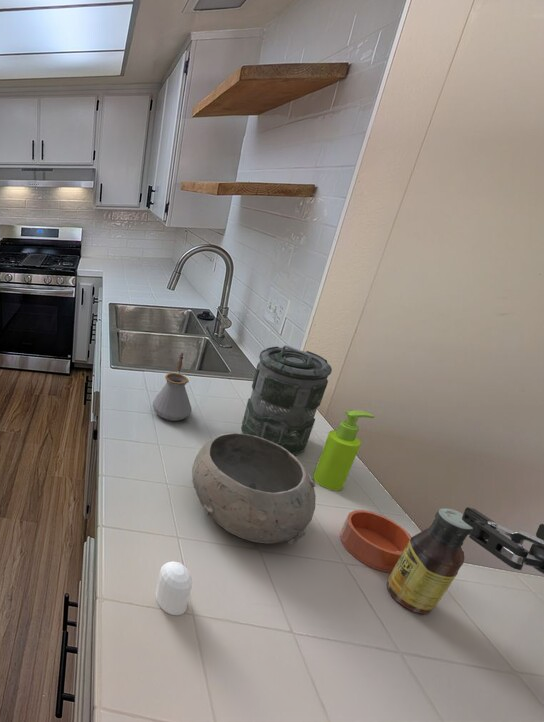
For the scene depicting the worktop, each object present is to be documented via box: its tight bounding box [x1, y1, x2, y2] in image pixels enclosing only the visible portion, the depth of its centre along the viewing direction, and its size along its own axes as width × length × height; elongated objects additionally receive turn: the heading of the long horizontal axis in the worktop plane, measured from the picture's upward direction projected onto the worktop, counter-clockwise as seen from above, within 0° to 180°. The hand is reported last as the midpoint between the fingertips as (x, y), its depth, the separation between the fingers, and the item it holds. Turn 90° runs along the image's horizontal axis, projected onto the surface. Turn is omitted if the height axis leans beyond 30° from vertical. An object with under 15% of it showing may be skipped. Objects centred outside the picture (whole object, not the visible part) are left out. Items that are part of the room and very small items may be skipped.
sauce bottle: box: [386, 507, 473, 615], centre depth 64 cm, size 7×6×20 cm
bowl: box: [191, 432, 316, 544], centre depth 82 cm, size 23×23×15 cm
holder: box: [339, 509, 412, 574], centre depth 76 cm, size 10×10×5 cm
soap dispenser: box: [312, 409, 375, 492], centre depth 90 cm, size 6×7×20 cm
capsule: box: [154, 560, 193, 616], centre depth 66 cm, size 5×5×8 cm
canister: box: [240, 344, 333, 456], centre depth 103 cm, size 16×16×28 cm
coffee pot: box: [152, 352, 192, 422], centre depth 121 cm, size 21×12×15 cm, turn 155°
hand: (502, 521), depth 54 cm, fingers open, 8 cm apart
